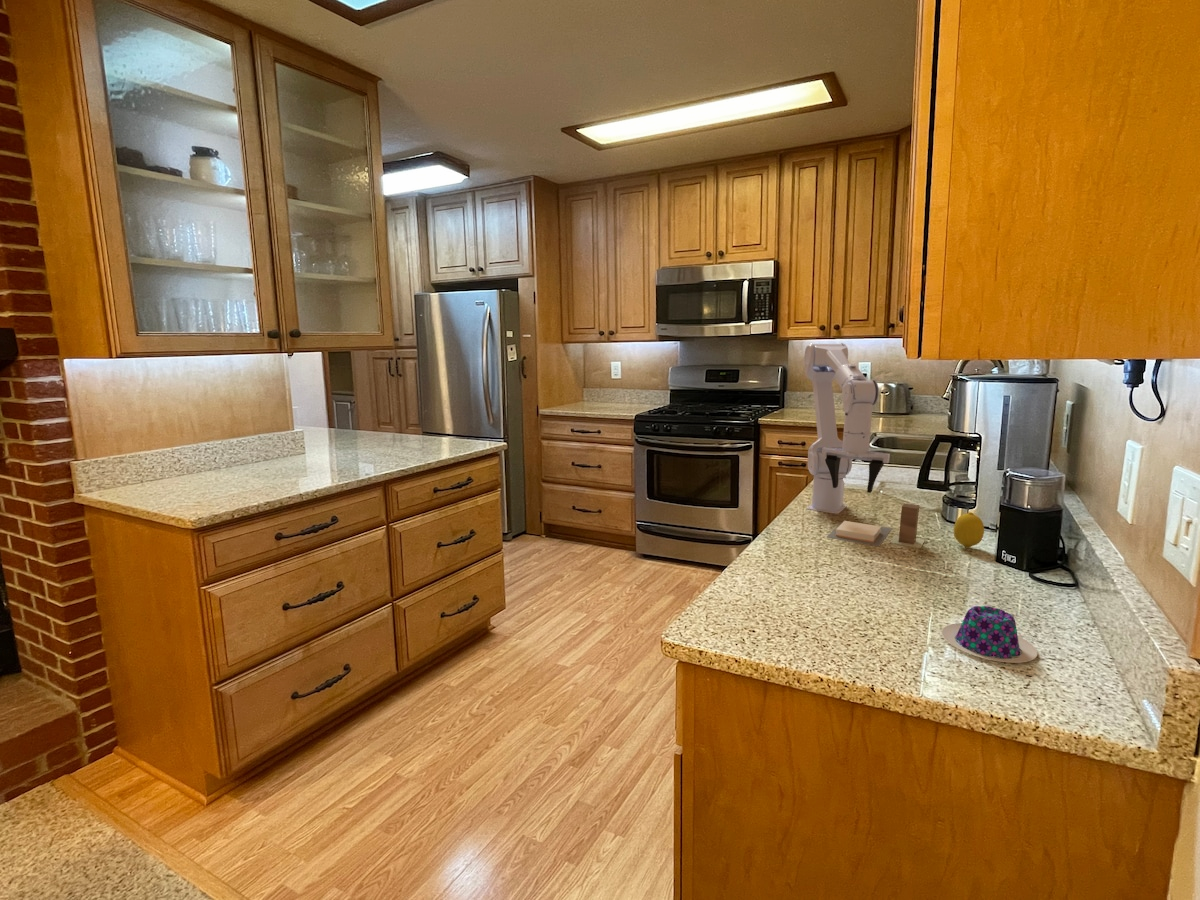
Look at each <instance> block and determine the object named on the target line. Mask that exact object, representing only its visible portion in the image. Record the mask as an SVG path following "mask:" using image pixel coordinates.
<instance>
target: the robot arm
mask: <svg viewBox="0 0 1200 900" xmlns="http://www.w3.org/2000/svg"><path fill="white" fill-rule="evenodd" d="M848 358H849V350H848V346H847V345H846V343H844V342H842V343H812V342H809V343H808V345H807V346H806V347H805V351H804V357H803V363H804V371H805V377H806V378H807V379H809V380H811V383H812V385H811V386H812V391H813V401H814V403H813V404H814V412H815V423H816V433H817V439H816V440H815V442H813V443H812V444H811V445H810V446H809V447H808V450H807V469H808V471H809V473H810V475H812V476H813V480H812V481H813V483H812V497H811V504H809V506H807V508H806V509H807V510H809V511H816V512H822V513H830V514H836V515H839V514H840V513H841V512H842V511H843V510H844V509H846V508H847V504H844V493H845V481H844V479H845V478H846V477H847V475H849V473H850V472H851V470H852V468H853V460H858V461H859V460H860V461H865V462H866V461H868V462H869V463H868V481H867V490H866V492H867V494H868V493H869V494H871V493H872V492H873V489H874V484H875V482H876V480H877V477H878V475H879V473H880V471H881V470H882V469H883V466H884V465H885V464H889V463H890V458H891V456H890V455H891V453H887V452H885V453H884V452H881V451H880V452H879V451H874V450H873V451H872V450H870V441H871V440H870V439H871V430H872V429H871V428H872V417H873V407H874V406H875V405H876V403H878V399H879V395H880V394H879V393H880V390H879V384H878V382H877V381H876V379H867V378H866V377H865V375H864V374H863V373H862V371H861V370H860V368H859V367H858V366H857V365H856V363H850V362H849V359H848ZM834 380H835V381H836V383H837V385H838V386H839V388H840V389H841V390H842V392H841V394H842V395H841V396H842V404H843V407H842V409H843V410H842V411H843V412H844V423H843V436H842V439H840V438H839V436H838V429H837V427H838V426H837V420H836V408H835V400H834V392H833V391H834V389H833V381H834Z"/></svg>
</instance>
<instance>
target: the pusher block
mask: <svg viewBox="0 0 1200 900" xmlns="http://www.w3.org/2000/svg"><path fill="white" fill-rule="evenodd" d="M900 511H901V512H900V522H899V523H900V524H899V530H898V531H899V532H898V533H899V534H898V535H899V542H902V543H908V544H914V543H915V541H916V538H917V532H918V522H919V512H920V505H917V504H911V503H910V504H909V503H903V505H901V510H900Z"/></svg>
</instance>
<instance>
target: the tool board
mask: <svg viewBox="0 0 1200 900" xmlns="http://www.w3.org/2000/svg"><path fill="white" fill-rule="evenodd" d="M925 541H926V539H922V538H917V537H916V541H915V543H914V544H908V543H902V542H899V534H898V535H897V534H894V536H893V537H892V538H891V540H890V544H893V545H898V546H899V545H900V546H905V547H909V548H910V547H911V548H915V549H916V548H917V549H922V547H923V545H924V543H925Z"/></svg>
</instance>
